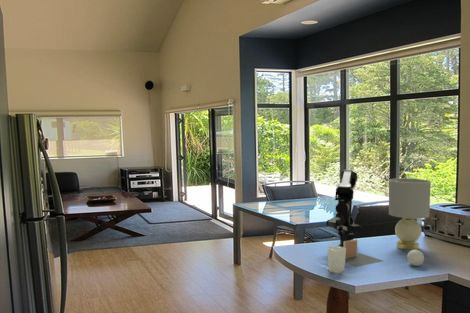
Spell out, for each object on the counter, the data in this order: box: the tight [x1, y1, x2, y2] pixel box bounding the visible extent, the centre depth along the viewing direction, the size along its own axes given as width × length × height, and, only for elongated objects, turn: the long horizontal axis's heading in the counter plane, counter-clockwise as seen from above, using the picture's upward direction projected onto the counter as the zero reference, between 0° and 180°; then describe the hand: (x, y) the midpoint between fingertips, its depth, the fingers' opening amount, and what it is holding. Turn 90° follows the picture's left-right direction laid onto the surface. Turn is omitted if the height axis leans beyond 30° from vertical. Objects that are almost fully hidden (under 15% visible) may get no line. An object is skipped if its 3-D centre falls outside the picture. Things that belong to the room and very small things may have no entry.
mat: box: [345, 252, 384, 267], centre depth 227 cm, size 16×18×1 cm
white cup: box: [327, 245, 346, 274], centre depth 210 cm, size 8×8×10 cm
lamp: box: [388, 177, 432, 251], centre depth 251 cm, size 20×20×35 cm
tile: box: [343, 238, 358, 258], centre depth 231 cm, size 1×8×8 cm, turn 121°
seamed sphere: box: [406, 249, 425, 267], centre depth 219 cm, size 10×7×7 cm
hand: (343, 242), depth 235 cm, fingers closed
